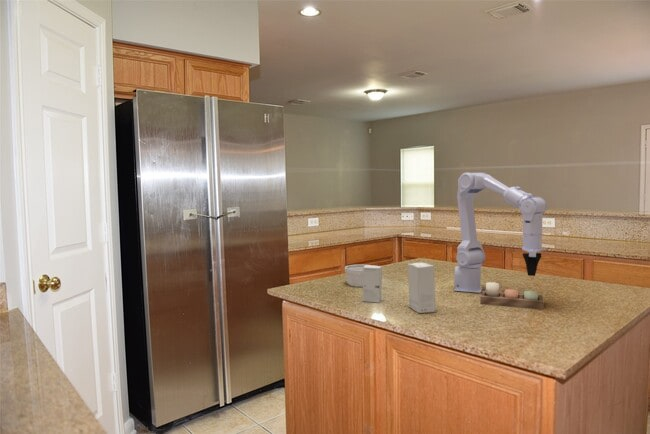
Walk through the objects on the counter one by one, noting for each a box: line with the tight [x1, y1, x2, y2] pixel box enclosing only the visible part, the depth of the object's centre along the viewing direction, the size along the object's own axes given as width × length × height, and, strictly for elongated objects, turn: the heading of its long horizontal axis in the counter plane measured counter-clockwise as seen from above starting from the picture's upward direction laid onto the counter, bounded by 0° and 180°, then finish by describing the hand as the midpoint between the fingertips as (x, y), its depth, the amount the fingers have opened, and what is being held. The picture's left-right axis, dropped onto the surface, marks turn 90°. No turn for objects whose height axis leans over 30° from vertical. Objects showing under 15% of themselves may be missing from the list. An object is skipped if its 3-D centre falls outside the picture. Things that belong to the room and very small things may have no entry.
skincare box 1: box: [362, 264, 383, 303], centre depth 159 cm, size 6×4×12 cm
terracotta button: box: [504, 288, 519, 298], centre depth 153 cm, size 4×4×4 cm
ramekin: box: [344, 264, 366, 288], centre depth 185 cm, size 13×13×7 cm
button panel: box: [479, 290, 544, 310], centre depth 153 cm, size 19×9×2 cm, turn 67°
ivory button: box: [485, 281, 500, 297], centre depth 155 cm, size 4×4×4 cm
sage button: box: [523, 290, 539, 300], centre depth 151 cm, size 4×4×4 cm
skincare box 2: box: [407, 261, 437, 314], centre depth 147 cm, size 8×6×15 cm
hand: (531, 275), depth 150 cm, fingers closed
